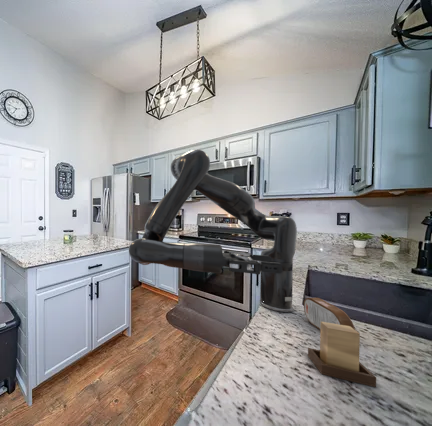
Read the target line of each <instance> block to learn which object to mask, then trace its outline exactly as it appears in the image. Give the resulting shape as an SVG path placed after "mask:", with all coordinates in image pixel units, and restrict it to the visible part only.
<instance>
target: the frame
mask: <svg viewBox="0 0 432 426" xmlns="http://www.w3.org/2000/svg"><path fill="white" fill-rule="evenodd" d="M307 356H308V358H309V359H310V361H311V362H312V364H313V365H314V366H315V368H316V369H317V371H319V372H320V374H321V375H323V376H326V377H332V378H336V379H340V380H343V381H348V382H352V383H356V384H360V385H364V386H369V387H373V388H377V377H376V375H374V374H373V373H372V372H371V371H370V370H369V369H368V368H367V367H366V366H365V365H364V364H363V363H361V362H360V361H359V372H357V371H352V370H348V369H344V368H339V367H335V366H330V365H326V364H323V362H322V361H321V360H320V349H316V348H311V347H307Z"/></svg>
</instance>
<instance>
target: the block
mask: <svg viewBox="0 0 432 426" xmlns="http://www.w3.org/2000/svg"><path fill="white" fill-rule="evenodd" d="M319 331H320V339H319V350H320V360H321V361H322V362H323V364H326V365H330V366H335V367H339V368H344V369H348V370H352V371H357V372H359V362H360V344H361V343H360V341H361V339H360V338H361V333H359V332H358V331H357V330H356V329H355V330H354V329H353V328H352V327H350V326H345V325H339V324H333V323H327V322H321V329H319Z"/></svg>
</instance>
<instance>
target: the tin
mask: <svg viewBox="0 0 432 426" xmlns="http://www.w3.org/2000/svg"><path fill="white" fill-rule="evenodd" d="M303 311H304V312H303V313H304V315H305V317H306V319H307V320H308V322H309V323H310V324H311V325H312V326H314V327H316V329H318V330H320V329H321V322H327V323H333V324H339V325H345V326H350V327H352V328H353V329H354V330H356V328H355V325H354V322H353V320H352V319H351V318H350V316H349V315H348V314H347V313H346V312H345V311H344V310H342V309H341V308H339V307H337V306H336V305H333V304H331V303H329V302H327V301H326V300H325V299H322V298H320V297H306V298H305V299H304V300H303Z"/></svg>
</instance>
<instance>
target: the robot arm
mask: <svg viewBox="0 0 432 426" xmlns="http://www.w3.org/2000/svg"><path fill="white" fill-rule="evenodd" d="M210 167H211V160H210V157H209V154H207V152H206V151H204V150H203V149H192V150H189V151H187V152H184V153H183V154H180V155H179V156H176V157H175V158H174V159H173V160H172V161H171V163H170V173H171V175H172V176H173V178H174V179H175V180H176V181H175V182H174V183H173V185H172V186H171V188H170V189H169V190H168V191H167V192H166V194H165V195H164V196H163V197H162V198H161V199H160V200H159V201H158V203H156V205H155V207H154V208H153V210H152V211H151V213H150V215H149V217H148V219H147V220H146V221H145V223H144V224H145V225H144V233H143V235H142V237H141V238H136V239H134V240H133V241H132V242H130V244H129V246H128V255H129V257H130V258H131V260H133V261H134V262H135V263H138V264H140V265H142V266H148V265H151V264H154V265H163V266H165V267H168V268H176V269H185V270H189V271H194V272H200V273H201V272H202V273H209V274H222V272H223V267H226V268H228V271H230V272H236V273H244V274H252V275H260V288H259V289H260V291H259V295H260V296H259V297H260V298H259V305H261V304H262V303H263V304H262V305H261V306H263V307H264V308H266V309H269V310H271V311H275V312H281V313H291V312H292V311H293V281H294V279H293V276H294V275H293V274H294V273H293V272H294V271H293V270H294V269H293V268H294V265H293V264H294V256H295V254H296V247H297V246H296V245H297V234H298V229H297V228H298V227H297V223H296V221H295V220H294V219H293V218H292V217H290V216H281V215H278V216H277V215H266V214H264V213H262V212H261V211H260V210H259V209H257V208H256V203H255V199H254V197H253V196H252V194H250V193H249V192H248V191H246V190H245V189H244V188H243V187H242V186H240V185H238V184H236V183H234V182H233V181H229V180H225V179H224V178H219V177H216V176H213V175H211V174H209V170H210ZM194 191H196V192H198V193H199V194H201V195H202V196H204V197H205V198H206V199H208V200H209V201H210V202H212V203H214V204H215V205H217V206H218V207H219V208H220V209H222V210H223V211H225V212H226V213H227V214H229V215H231V216H232V217H234V218H235V219H237V220H238V221H240V222H241V223H243V224H244V225H245V226H247V228H249V229H250V230H251V231H252V232H253V233H254V234H255V235H256V236H258V237H259V238H260V239H263V240H266V241H270V242H273V246H272V247H271V248H268V249H263V250H261V252H260V254H252V253H251V252H248V251H236V250H235V251H233V250H223V246H222V245H221V244H217V243H200V242H167V241H164V239H165V237H166V235H167V234H168V233H169V230H170V228H171V227H172V225H173V224H174V221H175V219H176V217H177V216H178V214H179V212H180V211H181V210H182V207H183V206H184V205H185V203H186V202H187V201H188V199H189V198H190V197H191V195H192V193H194ZM252 266H253V267H252ZM263 301H264V302H263Z"/></svg>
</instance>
